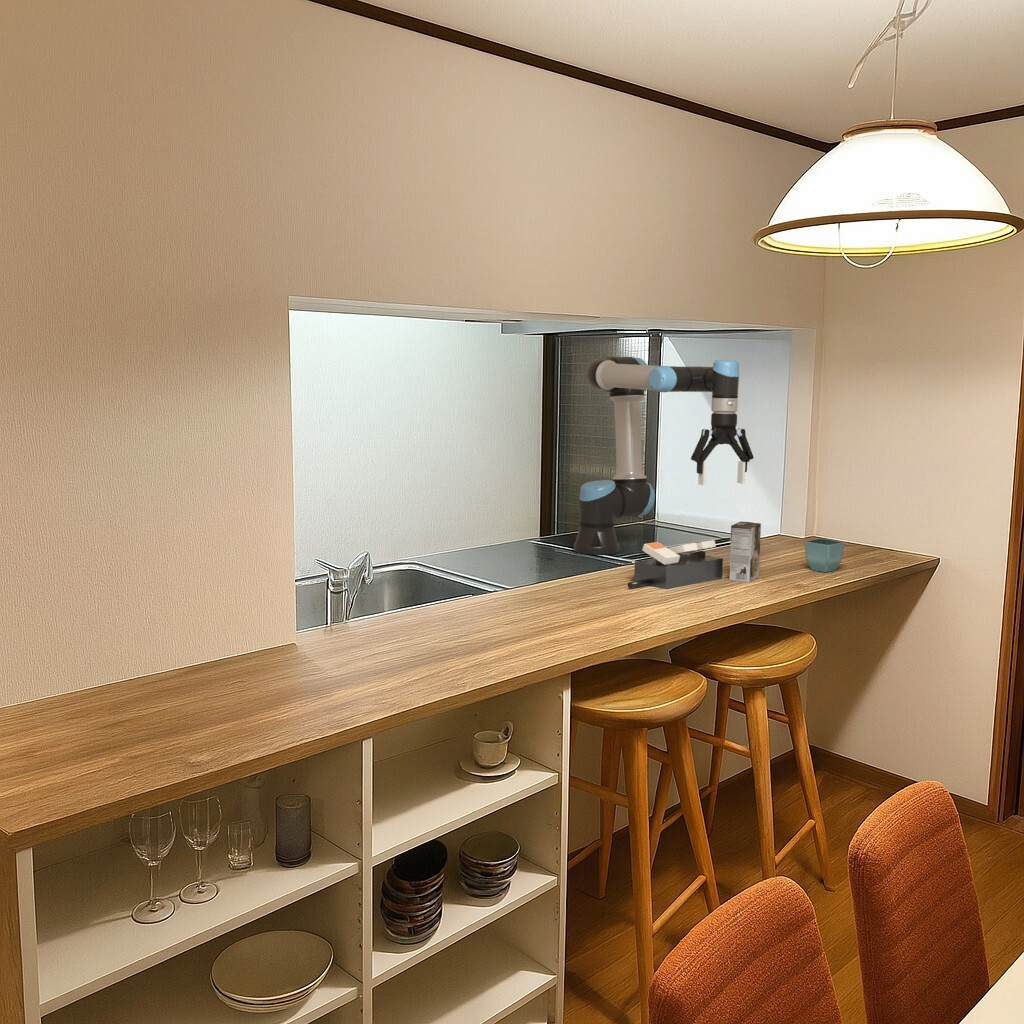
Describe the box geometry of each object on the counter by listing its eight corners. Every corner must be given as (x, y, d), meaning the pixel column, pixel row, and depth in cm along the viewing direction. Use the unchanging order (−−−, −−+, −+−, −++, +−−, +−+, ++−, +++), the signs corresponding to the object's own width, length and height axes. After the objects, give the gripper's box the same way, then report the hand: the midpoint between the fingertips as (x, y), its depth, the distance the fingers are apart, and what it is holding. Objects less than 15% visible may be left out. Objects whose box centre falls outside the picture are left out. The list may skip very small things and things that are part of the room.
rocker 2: (661, 556, 282) (660, 549, 282) (674, 554, 285) (673, 547, 285) (684, 551, 275) (682, 544, 275) (697, 549, 278) (696, 542, 278)
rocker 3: (680, 553, 287) (678, 546, 287) (693, 551, 290) (691, 544, 290) (703, 548, 280) (701, 541, 280) (715, 546, 283) (714, 539, 283)
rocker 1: (642, 550, 276) (644, 543, 275) (655, 548, 280) (657, 541, 279) (664, 564, 270) (666, 557, 269) (678, 562, 274) (680, 555, 273)
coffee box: (738, 574, 289) (740, 521, 287) (759, 577, 286) (761, 522, 284) (728, 580, 281) (730, 524, 279) (750, 582, 278) (752, 526, 276)
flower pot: (827, 574, 290) (829, 544, 289) (802, 570, 297) (803, 541, 296) (844, 571, 296) (845, 541, 294) (818, 566, 302) (820, 538, 301)
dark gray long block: (614, 585, 273) (614, 559, 272) (690, 572, 293) (691, 547, 292) (645, 593, 264) (646, 566, 263) (722, 578, 284) (723, 553, 283)
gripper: (694, 413, 281) (691, 486, 284) (767, 412, 290) (764, 483, 293) (680, 412, 288) (678, 483, 291) (752, 411, 297) (749, 481, 300)
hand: (721, 484), depth 292 cm, fingers open, 13 cm apart
